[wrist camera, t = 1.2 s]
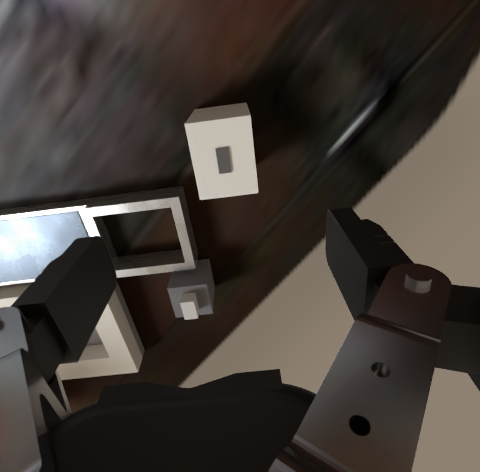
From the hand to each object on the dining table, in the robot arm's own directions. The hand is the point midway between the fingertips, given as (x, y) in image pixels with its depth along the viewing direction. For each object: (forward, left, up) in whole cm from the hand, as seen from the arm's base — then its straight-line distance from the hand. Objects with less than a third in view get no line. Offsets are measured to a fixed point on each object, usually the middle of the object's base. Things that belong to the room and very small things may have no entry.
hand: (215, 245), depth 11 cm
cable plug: (+13, -5, -16) cm, 21 cm away
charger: (0, 0, -16) cm, 16 cm away
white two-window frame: (+7, -15, -16) cm, 23 cm away
